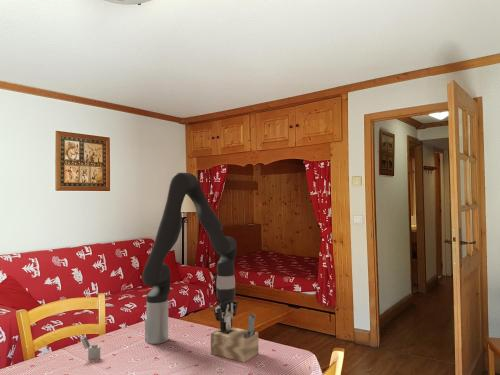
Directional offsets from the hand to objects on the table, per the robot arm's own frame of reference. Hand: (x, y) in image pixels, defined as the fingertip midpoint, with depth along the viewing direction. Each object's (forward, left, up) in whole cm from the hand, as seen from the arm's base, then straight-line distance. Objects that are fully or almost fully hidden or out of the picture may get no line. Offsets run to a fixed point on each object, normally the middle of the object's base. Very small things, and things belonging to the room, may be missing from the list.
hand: (226, 329), depth 152 cm
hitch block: (+4, 0, -9) cm, 10 cm away
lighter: (-41, -33, -9) cm, 53 cm away
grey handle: (+11, 0, +4) cm, 12 cm away
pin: (0, 0, -3) cm, 3 cm away
